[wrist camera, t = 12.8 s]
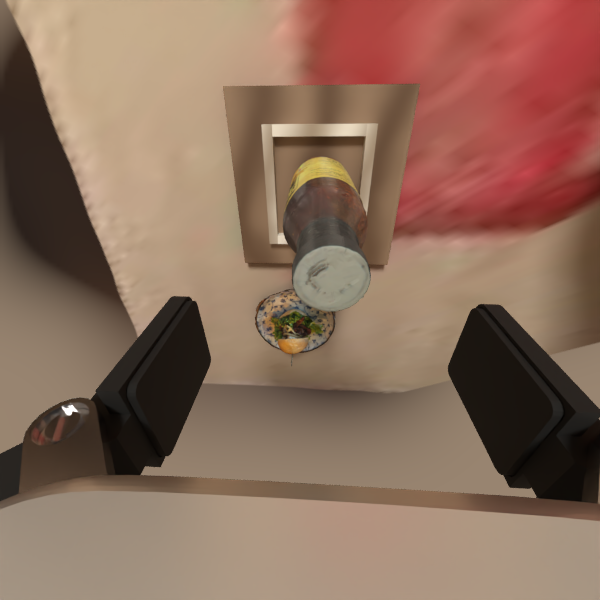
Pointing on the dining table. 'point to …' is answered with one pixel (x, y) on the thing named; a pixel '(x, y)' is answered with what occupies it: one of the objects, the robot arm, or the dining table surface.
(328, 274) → the sauce bottle
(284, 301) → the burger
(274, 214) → the walnut board
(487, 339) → the robot arm
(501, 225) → the dining table surface
